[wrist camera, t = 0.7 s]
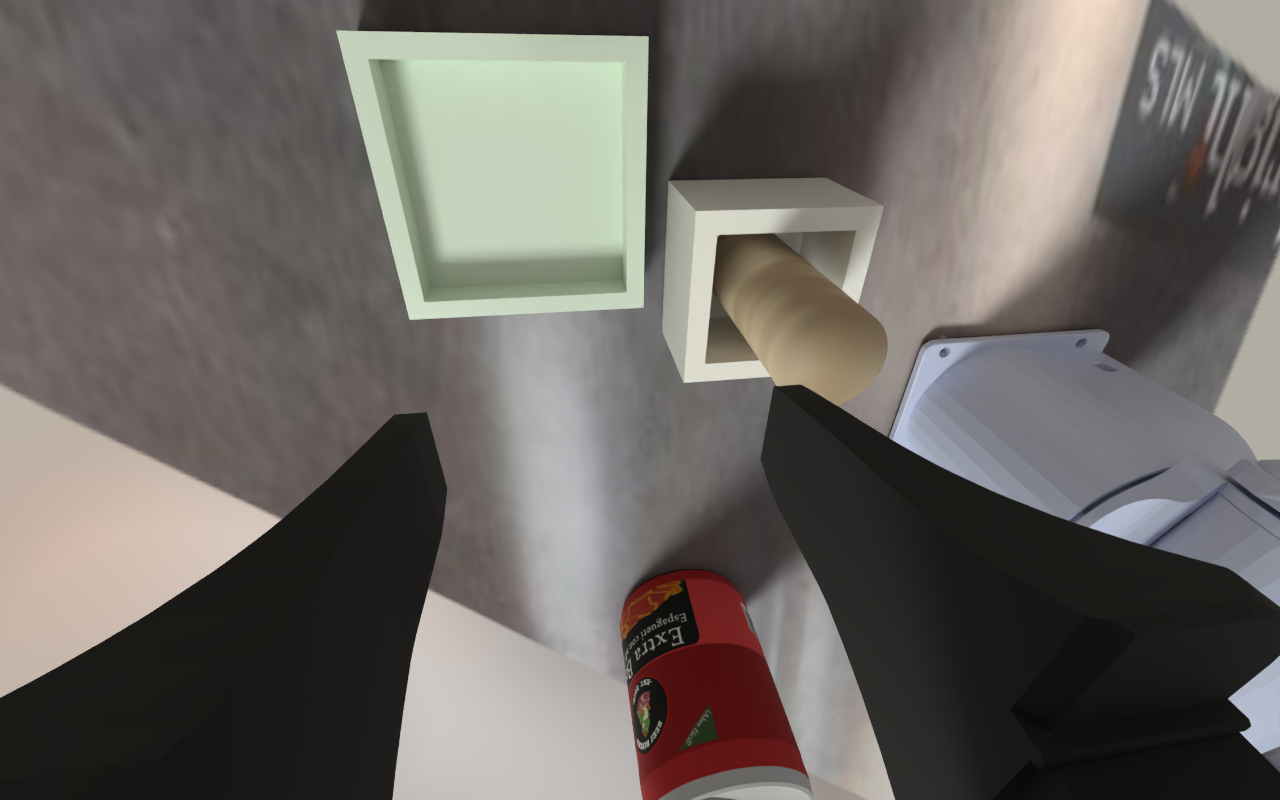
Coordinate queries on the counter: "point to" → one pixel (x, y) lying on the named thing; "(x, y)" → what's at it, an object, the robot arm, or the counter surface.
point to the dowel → (797, 317)
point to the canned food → (705, 696)
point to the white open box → (788, 207)
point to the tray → (507, 167)
